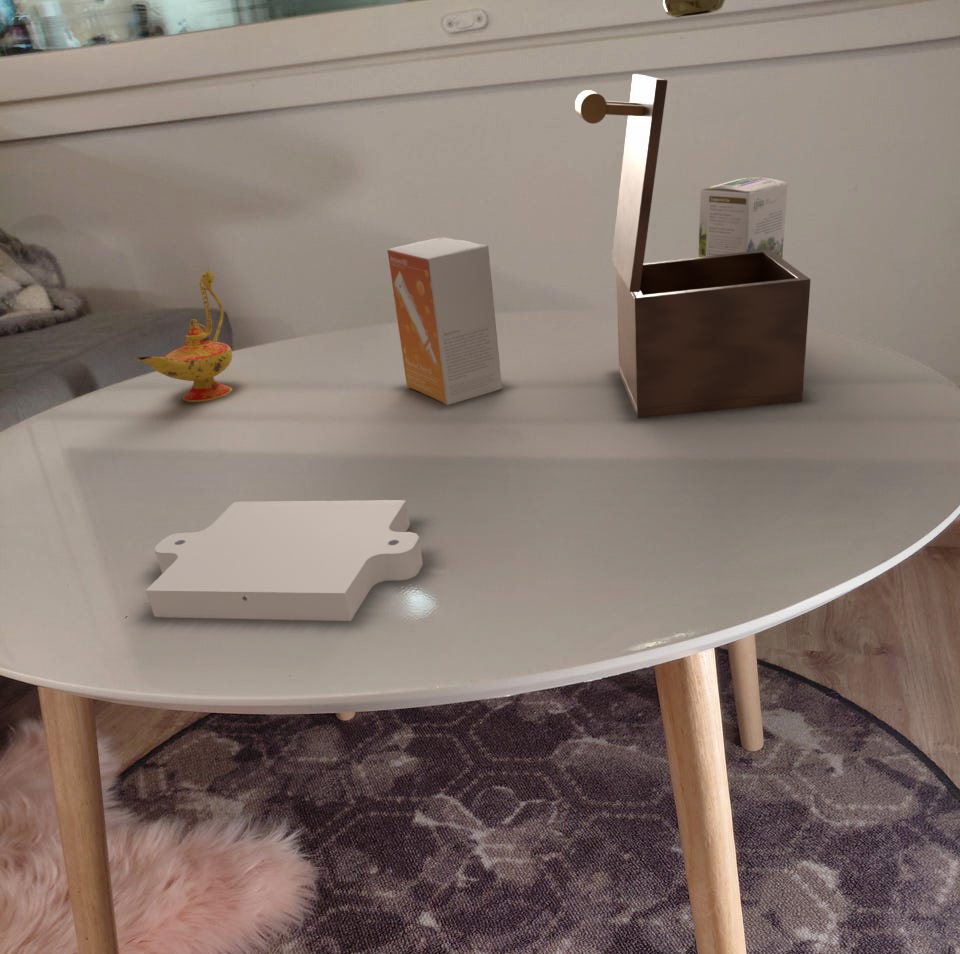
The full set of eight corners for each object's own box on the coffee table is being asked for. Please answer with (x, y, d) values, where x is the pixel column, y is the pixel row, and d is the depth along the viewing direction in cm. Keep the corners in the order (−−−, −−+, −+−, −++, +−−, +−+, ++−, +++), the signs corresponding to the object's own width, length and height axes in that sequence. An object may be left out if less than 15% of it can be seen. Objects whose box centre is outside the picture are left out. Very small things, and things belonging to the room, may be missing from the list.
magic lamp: (125, 431, 93) (89, 314, 87) (209, 373, 108) (182, 269, 102) (189, 429, 92) (156, 310, 86) (265, 371, 106) (242, 265, 100)
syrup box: (731, 330, 101) (736, 176, 93) (779, 337, 96) (788, 177, 89) (695, 344, 98) (697, 186, 90) (743, 352, 94) (749, 188, 86)
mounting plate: (118, 616, 61) (109, 590, 60) (209, 526, 72) (202, 502, 71) (391, 622, 57) (386, 593, 56) (444, 525, 67) (441, 499, 66)
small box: (405, 388, 95) (385, 248, 89) (461, 372, 98) (445, 235, 91) (446, 406, 89) (427, 257, 82) (504, 389, 92) (490, 243, 85)
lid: (642, 74, 79) (574, 70, 79) (667, 80, 68) (588, 75, 68) (620, 261, 87) (557, 257, 86) (639, 292, 76) (568, 288, 76)
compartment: (764, 359, 91) (769, 249, 86) (802, 402, 80) (810, 279, 75) (619, 374, 92) (615, 266, 87) (637, 419, 81) (634, 298, 76)
